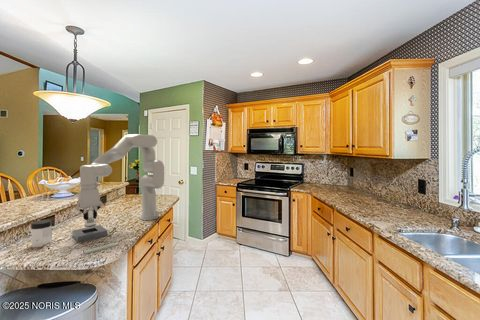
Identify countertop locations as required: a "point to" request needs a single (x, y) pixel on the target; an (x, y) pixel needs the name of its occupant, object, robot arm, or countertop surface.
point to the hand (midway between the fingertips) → (90, 218)
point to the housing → (89, 233)
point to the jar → (41, 232)
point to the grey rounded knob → (90, 218)
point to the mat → (99, 248)
